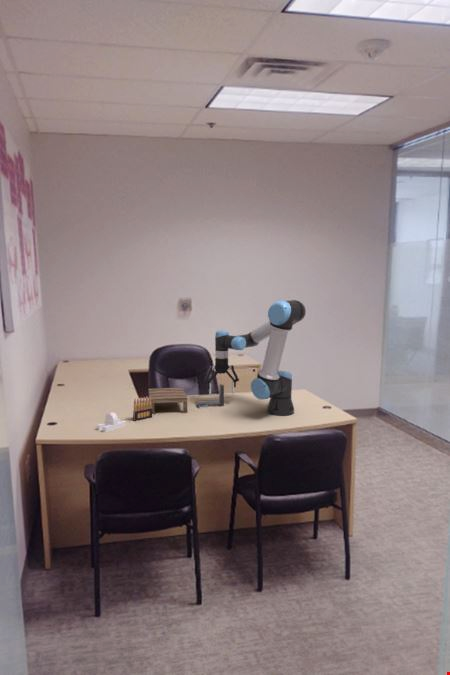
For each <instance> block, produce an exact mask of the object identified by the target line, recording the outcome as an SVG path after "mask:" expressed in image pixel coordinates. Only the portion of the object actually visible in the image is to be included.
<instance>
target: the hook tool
mask: <svg viewBox="0 0 450 675" xmlns="http://www.w3.org/2000/svg"><path fill="white" fill-rule="evenodd" d="M218 386H219V387H218V389H219V390H218V391H219V392H218V393H219V394H218V400H203V401H202V400H199V401H197V402H196V406H197V408H198V409H201V407H200V404H208V405H212V404H213V405H214V404H217V405H218V404H219V406H220V407H224V405H225V385H224V384H222V383H221V384H218Z"/></svg>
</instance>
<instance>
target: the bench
mask: <svg viewBox="0 0 450 675" xmlns="http://www.w3.org/2000/svg"><path fill="white" fill-rule="evenodd" d="M149 396H150V397H151V407H152V414H153V415H155V404H157V403H161V404H162V403H163V404H164V403H178V402H179V403H182V404H183V406H182V408H183V409H182V412H183V414H187V413H188V397H187V395H186V392H185V390H184V388H183V387H161V388H158V387H157V388H148V397H149Z"/></svg>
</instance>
